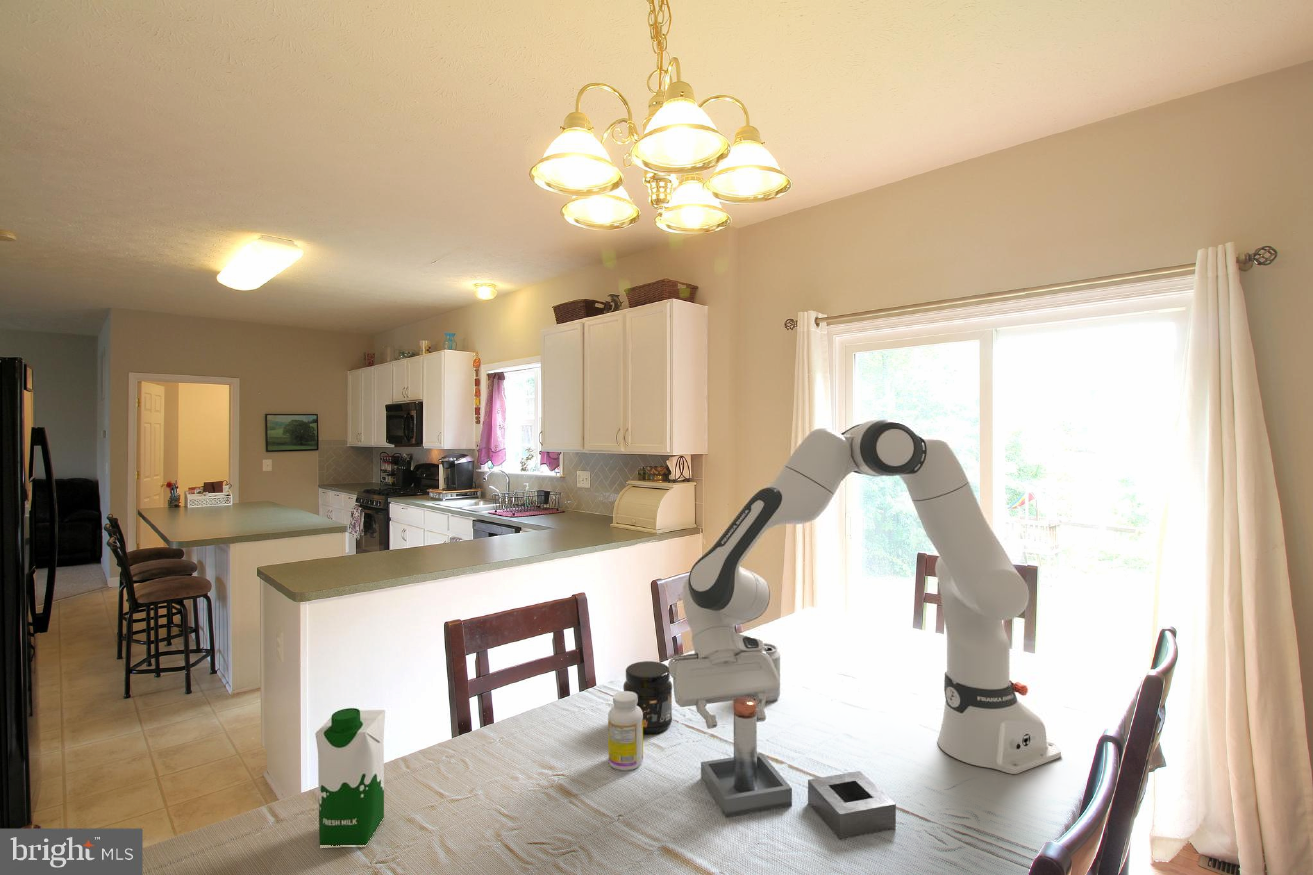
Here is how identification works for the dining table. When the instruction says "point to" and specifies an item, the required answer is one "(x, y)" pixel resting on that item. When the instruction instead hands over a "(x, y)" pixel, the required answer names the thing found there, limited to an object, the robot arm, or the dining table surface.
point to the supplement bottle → (625, 732)
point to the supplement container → (651, 693)
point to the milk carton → (350, 776)
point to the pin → (745, 744)
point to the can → (775, 658)
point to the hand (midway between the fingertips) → (737, 723)
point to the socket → (851, 805)
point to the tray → (734, 803)
